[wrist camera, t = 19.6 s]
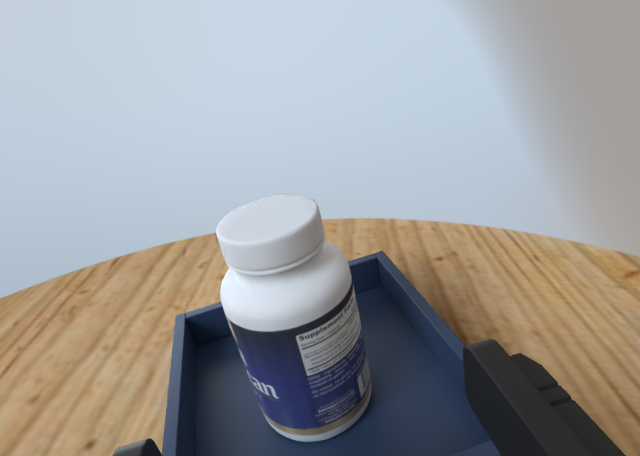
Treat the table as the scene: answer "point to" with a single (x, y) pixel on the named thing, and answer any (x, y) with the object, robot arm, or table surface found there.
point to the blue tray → (386, 375)
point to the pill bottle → (294, 317)
